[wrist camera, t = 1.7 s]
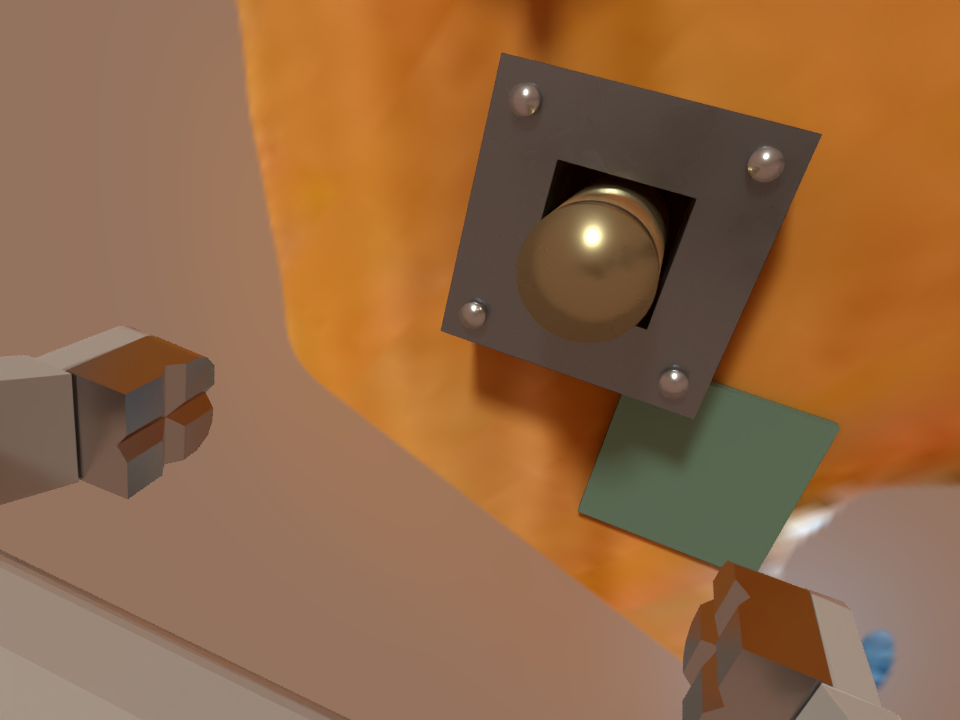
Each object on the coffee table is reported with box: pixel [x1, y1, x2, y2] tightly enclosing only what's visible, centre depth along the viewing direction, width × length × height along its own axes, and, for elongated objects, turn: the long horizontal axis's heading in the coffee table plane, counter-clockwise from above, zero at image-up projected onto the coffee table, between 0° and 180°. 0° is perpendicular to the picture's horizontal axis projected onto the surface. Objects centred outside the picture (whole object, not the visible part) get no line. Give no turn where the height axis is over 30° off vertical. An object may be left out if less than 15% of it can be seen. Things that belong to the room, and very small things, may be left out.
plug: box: [516, 174, 669, 343], centre depth 25 cm, size 5×5×10 cm
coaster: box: [578, 381, 840, 572], centre depth 33 cm, size 10×10×1 cm
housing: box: [441, 53, 822, 419], centre depth 27 cm, size 12×12×6 cm
